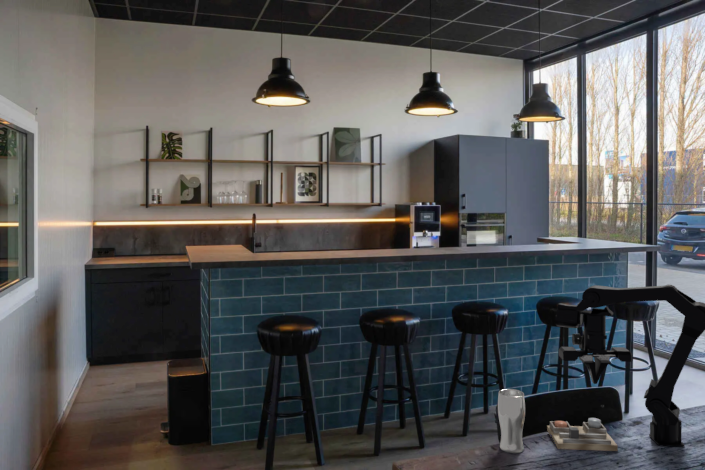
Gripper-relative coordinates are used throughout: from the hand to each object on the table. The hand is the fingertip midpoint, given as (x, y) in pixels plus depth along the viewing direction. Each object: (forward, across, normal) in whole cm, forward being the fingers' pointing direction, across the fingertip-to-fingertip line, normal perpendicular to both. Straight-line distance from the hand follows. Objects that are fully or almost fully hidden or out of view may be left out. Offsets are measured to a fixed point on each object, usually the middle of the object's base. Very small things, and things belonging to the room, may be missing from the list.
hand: (594, 383), depth 154 cm
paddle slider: (+11, +9, +13) cm, 19 cm away
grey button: (+10, +2, +6) cm, 12 cm away
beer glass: (+13, +26, +16) cm, 33 cm away
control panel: (+13, +6, +9) cm, 17 cm away
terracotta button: (+11, +11, +6) cm, 17 cm away
